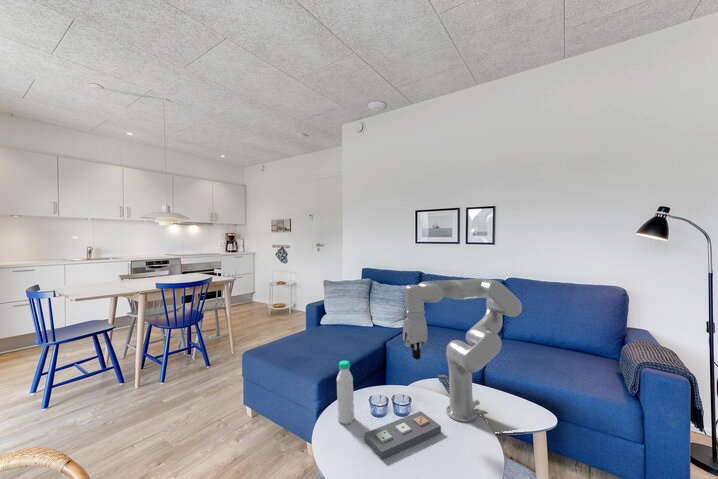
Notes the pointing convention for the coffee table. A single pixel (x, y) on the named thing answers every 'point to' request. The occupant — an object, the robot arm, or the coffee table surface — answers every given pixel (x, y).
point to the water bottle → (345, 394)
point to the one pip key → (403, 428)
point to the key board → (401, 436)
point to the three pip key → (420, 421)
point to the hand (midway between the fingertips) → (416, 358)
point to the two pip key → (383, 436)
